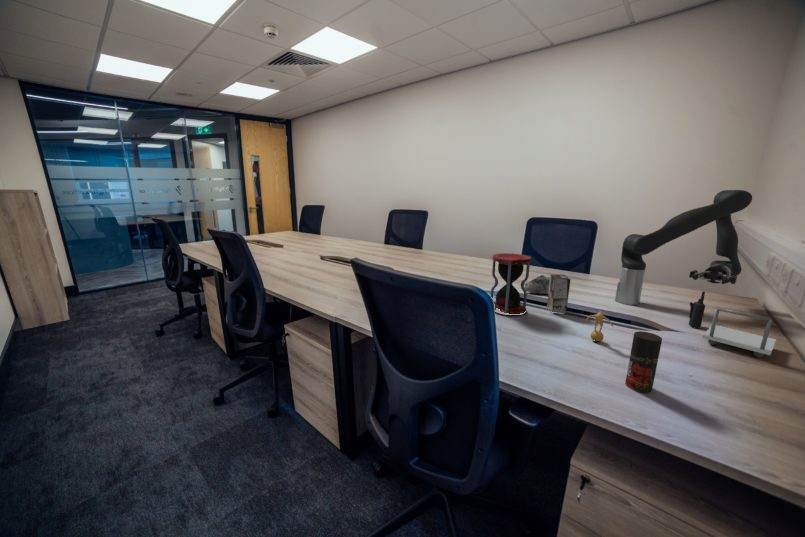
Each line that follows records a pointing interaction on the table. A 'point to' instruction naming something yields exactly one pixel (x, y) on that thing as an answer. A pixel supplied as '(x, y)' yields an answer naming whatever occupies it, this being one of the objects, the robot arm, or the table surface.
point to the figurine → (596, 334)
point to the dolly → (741, 335)
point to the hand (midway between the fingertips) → (708, 279)
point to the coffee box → (558, 293)
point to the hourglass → (510, 282)
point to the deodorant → (643, 361)
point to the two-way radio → (697, 312)
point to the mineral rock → (538, 285)
